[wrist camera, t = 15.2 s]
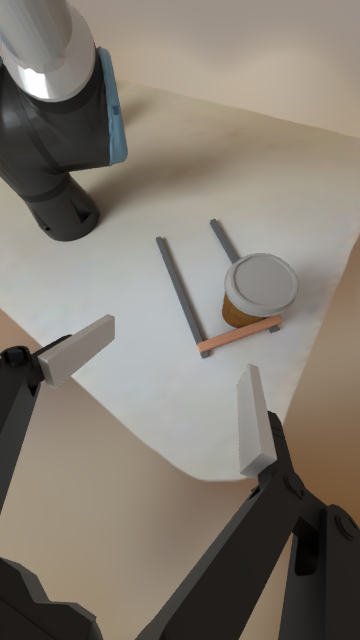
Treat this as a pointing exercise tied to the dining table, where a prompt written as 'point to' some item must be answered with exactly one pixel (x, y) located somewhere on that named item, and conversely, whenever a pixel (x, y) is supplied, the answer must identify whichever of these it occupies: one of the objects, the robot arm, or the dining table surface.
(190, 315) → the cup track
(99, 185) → the dining table surface
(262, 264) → the disposable coffee cup
